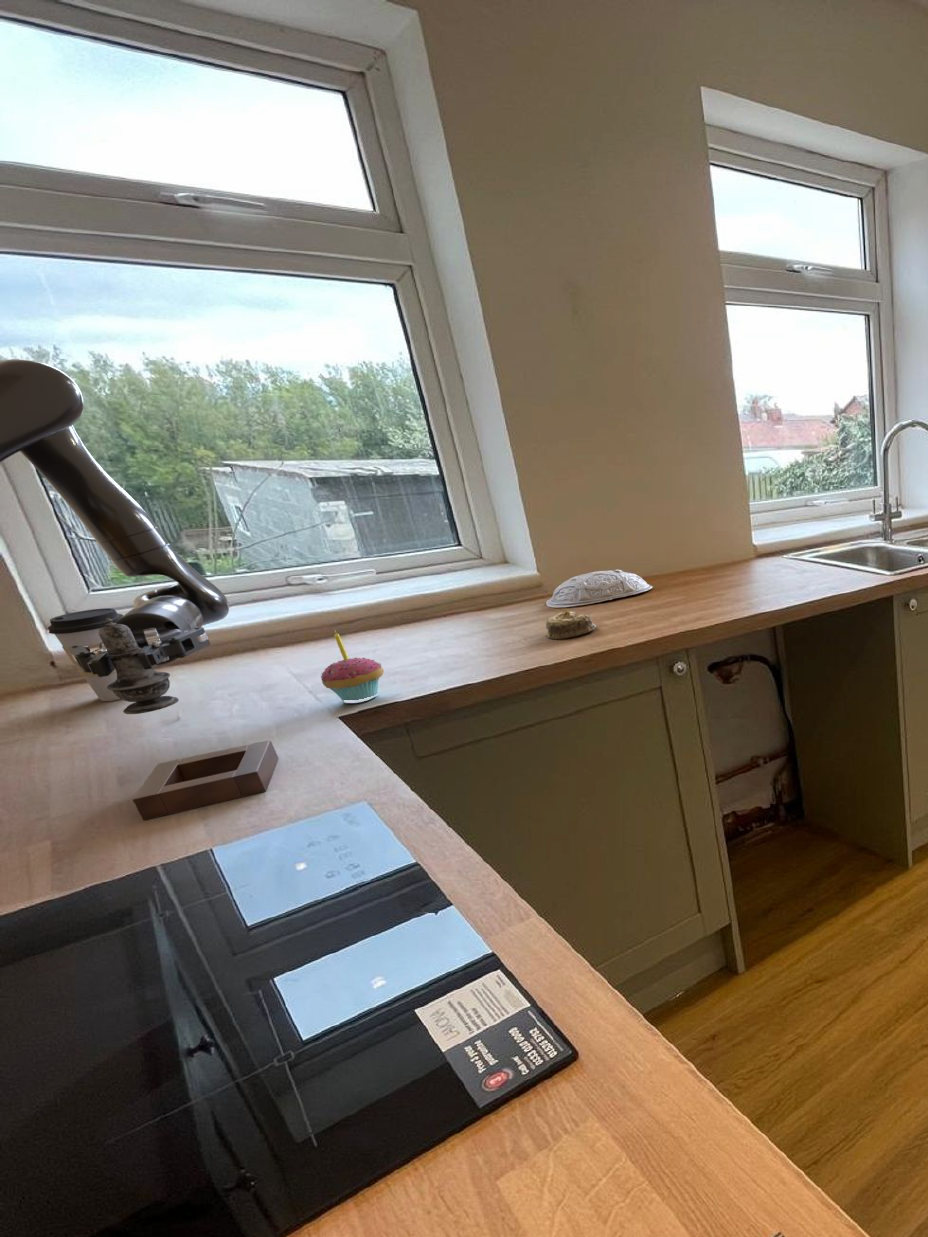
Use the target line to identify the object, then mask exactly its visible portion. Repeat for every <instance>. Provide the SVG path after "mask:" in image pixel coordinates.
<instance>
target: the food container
mask: <svg viewBox="0 0 928 1237" xmlns="http://www.w3.org/2000/svg"><path fill="white" fill-rule="evenodd" d="M651 589H654V588H653V585H651V584H648V582H647V581H645V580H644V579H643V578H642V577H641V576H639V575H637V574H635V573H633V572H627V571H623V570H621V569H614V570H597V571H593V572H588V573H583V574H579V575H576V576H573V577H570V578H568V579H567V580H565V581H563V582H562V583H561V584H560V585H559V586H557V587H556V588H555V589H554V591H553V594H552V596H551V598H550V599H548V600H547V601H546V602H545V603H546V604H545V605H546V607H548V608H554V609H559V608H562V609H563V608H570V607H571V608H572V607H579V606H585V605H593V604H595V603H601V602H605V601H612V600H614V599H619V598H624V597H628V596H632V595H633V596H634V595H638V594H641V593H644V592H647V591H649V590H651Z"/></svg>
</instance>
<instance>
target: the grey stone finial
mask: <svg viewBox="0 0 928 1237" xmlns="http://www.w3.org/2000/svg"><path fill="white" fill-rule="evenodd" d="M112 621H113V620H111V619H110V618H107V619H106V621H105V622H107V623H108V624H107V625H106V626H104V627H102V628H101V629H100V630H99V632H98V633H99V636H100V638H101V640H102V642H103V644H104V646H105V648H106V650H107V652H108V654H107V655H106V656H105V657H106V658H109V659H111V661H112V663H113V665H114V667H115V669H116V673H117V680H116V681H115V682H113V683H111V684H110V685H108V687H107V688H108V689H109V690H113V692H114V694H115V695H116V696H117V697H119V698H120V700H122V701H125V702H129V703H130V704H129V705H127V706H126V707H125V708H124V709H123V711H122V712H123V713H124V714H125V715H139V714H146V713H150V712H155V711H158V710H159V711H160V710H163V709H165V708H168V707H171V706H173V705H175V704H177V703H178V702H179V701H180V699H179V698H178V697H176V696H171V695H166V694H167V692H168V691H169V690H170V686H171V685H170V684H171V681H170V679H169V678H170V676H171V673H169V672H166V671H163V672H162V671H157V670H155V669H154V668H153V669H147V670H145V669H144V668H143V666H142V664H141V662H140V660H139V658H138V652H140V651H141V650H142V649H143V648H140V647H138V644H137V642H136V640H135V638H134V636H133V634H132V632H131V630H130V629H129V627H127V626H125V625H122V624H116V623H113V622H112Z"/></svg>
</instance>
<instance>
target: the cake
mask: <svg viewBox="0 0 928 1237" xmlns="http://www.w3.org/2000/svg"><path fill="white" fill-rule="evenodd" d="M596 628H597V624H596V623H593V620H592V619H591V616H589V615H587V614H582V613H581V614H579V615H578V614H577V613H576V611H570V610H568V608H567V607H564V610H563V612H559V613H556V614H554V615H553V616H550V617H548V619H547V620H546V624H545V629H546V630H547V633H546V638H547V639H550V640H553V639H554V640H561V639H568V638H574V637H577V636H580V635H585V634H587V633H590V632H593V631H594V630H595V629H596Z"/></svg>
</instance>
